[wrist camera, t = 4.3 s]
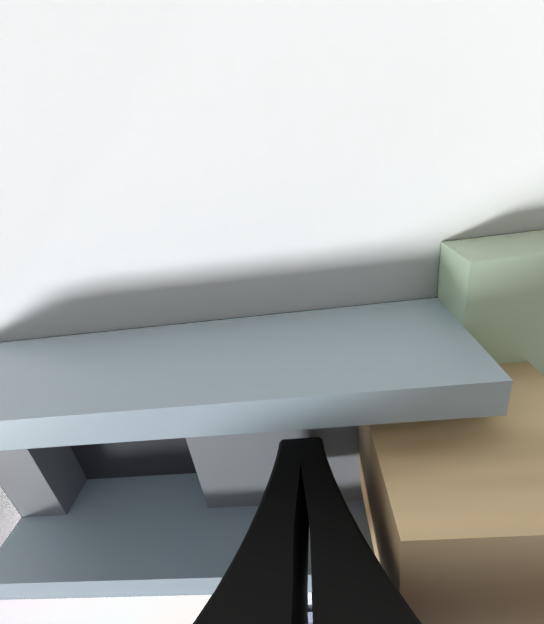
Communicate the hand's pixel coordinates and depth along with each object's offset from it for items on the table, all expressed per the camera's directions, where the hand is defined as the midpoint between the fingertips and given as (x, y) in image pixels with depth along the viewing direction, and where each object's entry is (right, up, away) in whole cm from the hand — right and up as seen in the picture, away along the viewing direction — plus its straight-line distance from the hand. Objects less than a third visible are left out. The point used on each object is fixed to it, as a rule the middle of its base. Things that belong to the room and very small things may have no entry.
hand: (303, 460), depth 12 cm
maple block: (+4, +1, 0) cm, 4 cm away
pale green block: (+2, +1, +2) cm, 3 cm away
